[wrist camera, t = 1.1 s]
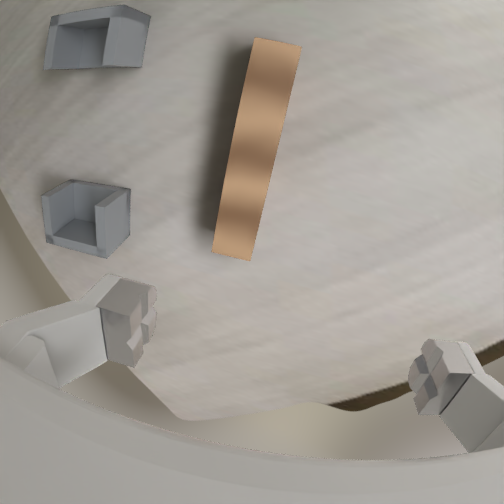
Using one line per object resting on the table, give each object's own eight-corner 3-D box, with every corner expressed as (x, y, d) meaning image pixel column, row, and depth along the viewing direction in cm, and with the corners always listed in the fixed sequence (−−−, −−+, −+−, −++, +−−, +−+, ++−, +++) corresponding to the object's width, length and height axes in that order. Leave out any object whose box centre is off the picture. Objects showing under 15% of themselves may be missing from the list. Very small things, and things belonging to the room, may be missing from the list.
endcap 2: (129, 235, 37) (106, 258, 32) (72, 222, 37) (46, 242, 32) (130, 188, 34) (104, 207, 29) (70, 179, 34) (41, 195, 29)
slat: (259, 45, 26) (254, 37, 22) (300, 53, 26) (301, 46, 22) (220, 233, 36) (211, 251, 32) (255, 241, 36) (250, 261, 32)
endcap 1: (83, 22, 25) (51, 16, 20) (150, 16, 25) (124, 4, 19) (75, 68, 28) (43, 70, 22) (141, 67, 28) (113, 65, 22)
